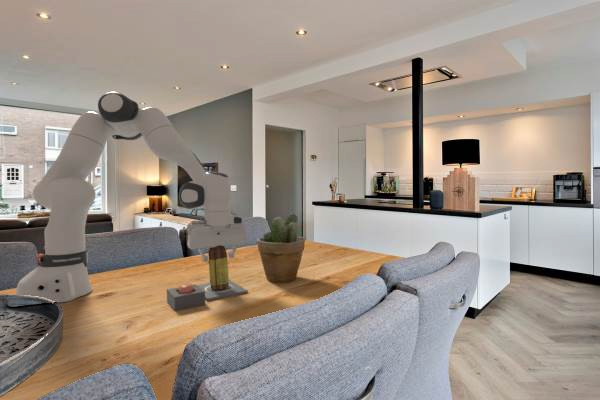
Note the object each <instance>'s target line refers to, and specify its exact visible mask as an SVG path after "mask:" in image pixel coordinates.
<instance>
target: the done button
mask: <svg viewBox="0 0 600 400" xmlns="http://www.w3.org/2000/svg"><path fill="white" fill-rule="evenodd" d="M193 285H194V284H192V283H184V284H183V283H182V284H179V285H178V292H179V294H183V293H189V292H193Z"/></svg>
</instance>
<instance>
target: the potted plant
mask: <svg viewBox="0 0 600 400" xmlns="http://www.w3.org/2000/svg"><path fill="white" fill-rule="evenodd" d="M298 220H299V218H298V215H297V214H295V213H293V212H290V213H288V214H287V216H286V219H284V218H283V217H281V216H276V217H274V218H273V219H272V223H271V224H272V225H271V227H272V228H271V230H269V231H267V232H264V234H263V235H262V237H260V238H257V239H256V243H257V249H258V250H257V251H258V252H259V255H260V256H259V257H260V260H261V264H262V267H263V270H264V274H265V278H266V280H267V281H268V282H271V283H280V284H282V283H291V282H294V281H295V280H296V278H297V275H298V272H299V268H300V265H301V261H302V259H303V258H302V256H303V251H304V250H305V244H306V243H305V242H306V238H305V237H304V236H301V235H300V236H299V235H297V231H298V228H299V227H298Z"/></svg>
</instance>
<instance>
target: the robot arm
mask: <svg viewBox="0 0 600 400" xmlns="http://www.w3.org/2000/svg"><path fill="white" fill-rule="evenodd" d="M97 109H98V112H95V111H86V112H83V113H82V114H81V115H80V116H79V117H78V119H77V120H76V122H75V123H74V124H73V125H72V128H70V132H69V133H68V135H67V137H66V140H65V142H64V144H63V146H62V149H61V151H60V153H59V154H58V156H57V157H56V159H55V161H53V163H52V164H51V166H50V167H49V169H48V170H47V172H46V173H45V174H44V176H43V178H42V179H41V180H40V181H39V182H38V183H37V184H36V185H35V187H33V192H32V196H33V199H34V201H35V202H36V203H37V204H39V205H40V206H41V207H43V208H45V209H47V210H50V214H49V217H48V218H49V219H48V222H47V225H46V226H45V228H44V233H43V234H44V251H45V253H38V254H37V255H36V260H37V266H36V267H35V268H34V269H33V270H32V271H30V272H29V273H27V274H26V275H25V276H24V277H22V278H21V279H20V280H19V281H18V283H17V286H16V289H15V294H16V295H31V296H39V297H44V298H47V299H50V300H52V301H55V302H57V303H56V304H58V303H64V302H71V301H73V300H75V299H77V298H80V297H82V296H85V295H88V294H89V293H91V292H92V291H93V287H92V284H91V282H90V278H89V277H90V276H89V273H88V264H89V262H88V260H89V259H88V250H87V249H86V226H87V218H88V214H89V212H90V208H91V206H92V204H94V203H95V199H96V189H95V187H94V186H93V185H92V184H91V183H90V182H88V181H86V179H87V178H88V176H90V174H91V173H93V172H94V170H95V169H96V168H97V166H98V163H99V161H100V158H101V157H102V154H103V151H104V148H105V147H106V144H107V141H108V140H109V138H111V137H112V138H113V139H115V140H123V141H124V140H125V141H135V140H138V139H140V138H142V137H143V139H144V141H145V142H146V145H147V147H148V148H149V149H150V151H151V152H152V154H154V155H155V157H157V158H159V159H160V160H164V161H167V162H169V163H172V164H174V165H177V166H179V167H181V168H182V169H184V171H185V172H186V173H187V174H188V175H189V177H190V179H191V181H188V182H185V183H183V184H182V186H181V187H180V188H179V192H178V200H179V202H180V205H182V207H183V208H185V209H189V210H201V209H203V212H204V216H203V217H204V219H203V220H201V219H200V220H191V222H189V223H187V226H186V233H187V234H188V235H187V247H188V248H189V250H198V253H199V255H200V256H201V261H202V262H203V263H205V262H209V255H206V254H204V252H205V249H209V248H212V247H216V246H218V245H221V246H224V247H229V246H231V247H230V248H231V250H230V252H228V254H227V258H229V259H234V258H235V253H236V251H237V249H238V245H245V244H246V243H247V241H248V235H247V234H248V233H247V232H248V231H247V228H246V225H245V219H246V218H244V217H243V216H239V215H236V214H233V213H232V208H231V203H230V202H231V197H232V194H231V193H232V191H231V183H230V182H231V180H230V178H229V176H228V174H227V173H223V172H219V171H207V169H206V168H205V166H204V165H203V163H202V162H201V160H200V159H199V158H198V157H197V156H196V154H195V153H194V152H193V151H192V150H191V149H190V147H188V145H187V144H186V142H185V141H184V140H183V138H182V137H181V136H180V134H179V133H178V132H177V130H176V127H175V126H174V125H173V123H172V122H171V121H170V120H169V118H168V117H167V115H165V113H164V112H163V111H162V110H161V109H159V108H158V107H155V106H154V107H153V106H147V107H145V108H140V107H139V104H138V102H136V101H134V100H133V99H130V97H129V96H128V97H127V96H126V95H125V94H123V93H120V92H119V91H118V92H117V91H110V92H106V93H104V94H102V95H101V96H100V98H99V99H98V101H97ZM218 232H219V233H220V234H219V235H217V233H218Z"/></svg>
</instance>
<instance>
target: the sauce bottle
mask: <svg viewBox="0 0 600 400" xmlns="http://www.w3.org/2000/svg"><path fill="white" fill-rule="evenodd" d="M219 234H220V233H219V232H218V233H217V235H219ZM225 247H226V246H221V245H218V246H216V247H212V248H208V251H207V252H208V254H207V255H208V269H209V271H208V272H209V283H210V285H211V289H213V290H222V289H226V288H227V287H228V286H229V284H228V282H229V280H230V279H229V278H230V277H229V267H228V266H229V265H228V254H227V250H226V248H225Z"/></svg>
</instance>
